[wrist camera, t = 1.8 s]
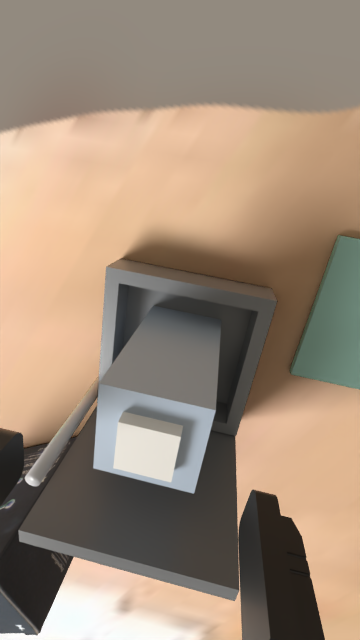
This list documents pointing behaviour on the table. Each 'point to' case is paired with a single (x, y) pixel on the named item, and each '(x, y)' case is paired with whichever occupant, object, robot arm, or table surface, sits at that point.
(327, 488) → the table surface
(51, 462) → the case
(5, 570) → the box
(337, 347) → the pad
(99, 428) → the module
